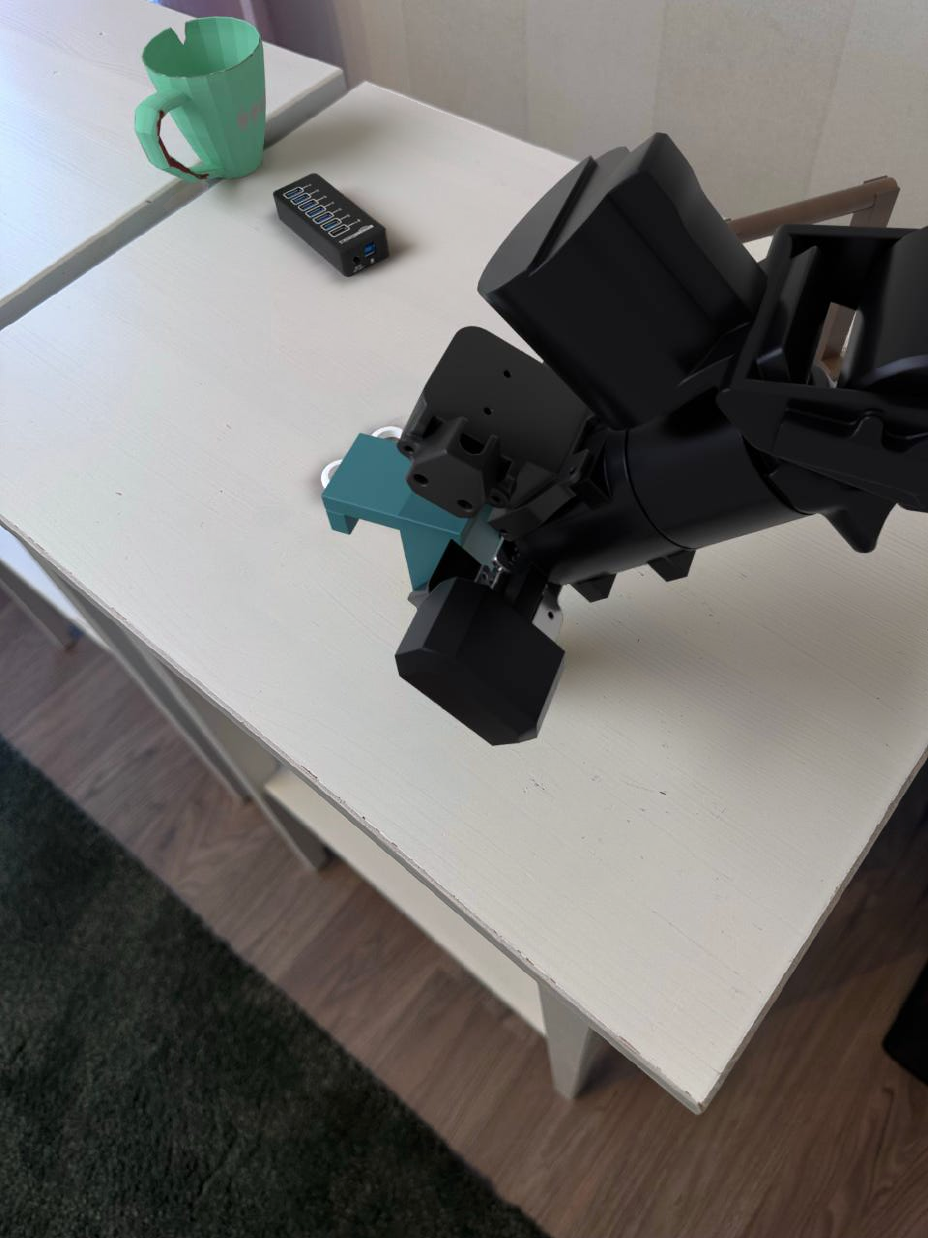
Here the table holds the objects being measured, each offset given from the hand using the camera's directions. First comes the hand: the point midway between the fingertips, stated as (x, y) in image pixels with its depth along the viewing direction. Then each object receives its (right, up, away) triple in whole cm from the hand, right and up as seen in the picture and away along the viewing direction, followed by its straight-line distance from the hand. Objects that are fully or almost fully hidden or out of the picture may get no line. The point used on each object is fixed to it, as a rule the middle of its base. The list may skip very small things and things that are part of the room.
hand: (432, 568), depth 45 cm
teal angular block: (0, -3, +6) cm, 7 cm away
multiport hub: (-9, +29, +30) cm, 43 cm away
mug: (-20, +37, +36) cm, 55 cm away
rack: (+22, +14, +18) cm, 32 cm away
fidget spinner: (-4, +7, +16) cm, 17 cm away
